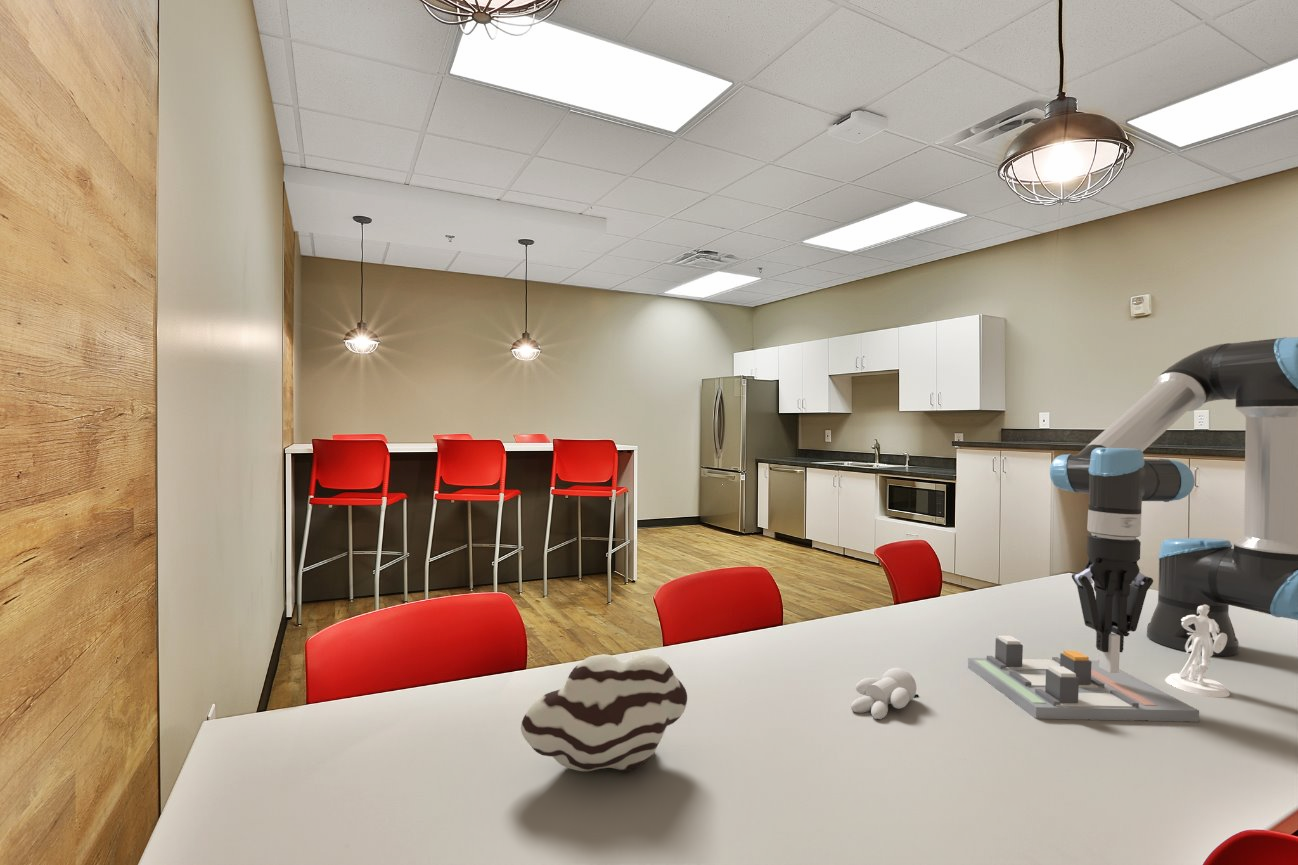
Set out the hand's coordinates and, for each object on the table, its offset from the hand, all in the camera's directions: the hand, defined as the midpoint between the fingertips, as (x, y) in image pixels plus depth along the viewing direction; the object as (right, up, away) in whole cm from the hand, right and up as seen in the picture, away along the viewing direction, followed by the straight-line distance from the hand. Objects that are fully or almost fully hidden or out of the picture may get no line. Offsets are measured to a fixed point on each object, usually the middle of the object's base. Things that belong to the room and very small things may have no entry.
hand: (1108, 669), depth 110 cm
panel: (-6, -4, 0) cm, 7 cm away
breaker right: (-13, -2, -7) cm, 15 cm away
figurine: (+19, -5, +4) cm, 20 cm away
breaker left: (-13, -2, +8) cm, 15 cm away
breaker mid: (-6, -2, 0) cm, 6 cm away
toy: (-41, -4, -6) cm, 42 cm away
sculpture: (-86, -3, -28) cm, 91 cm away
